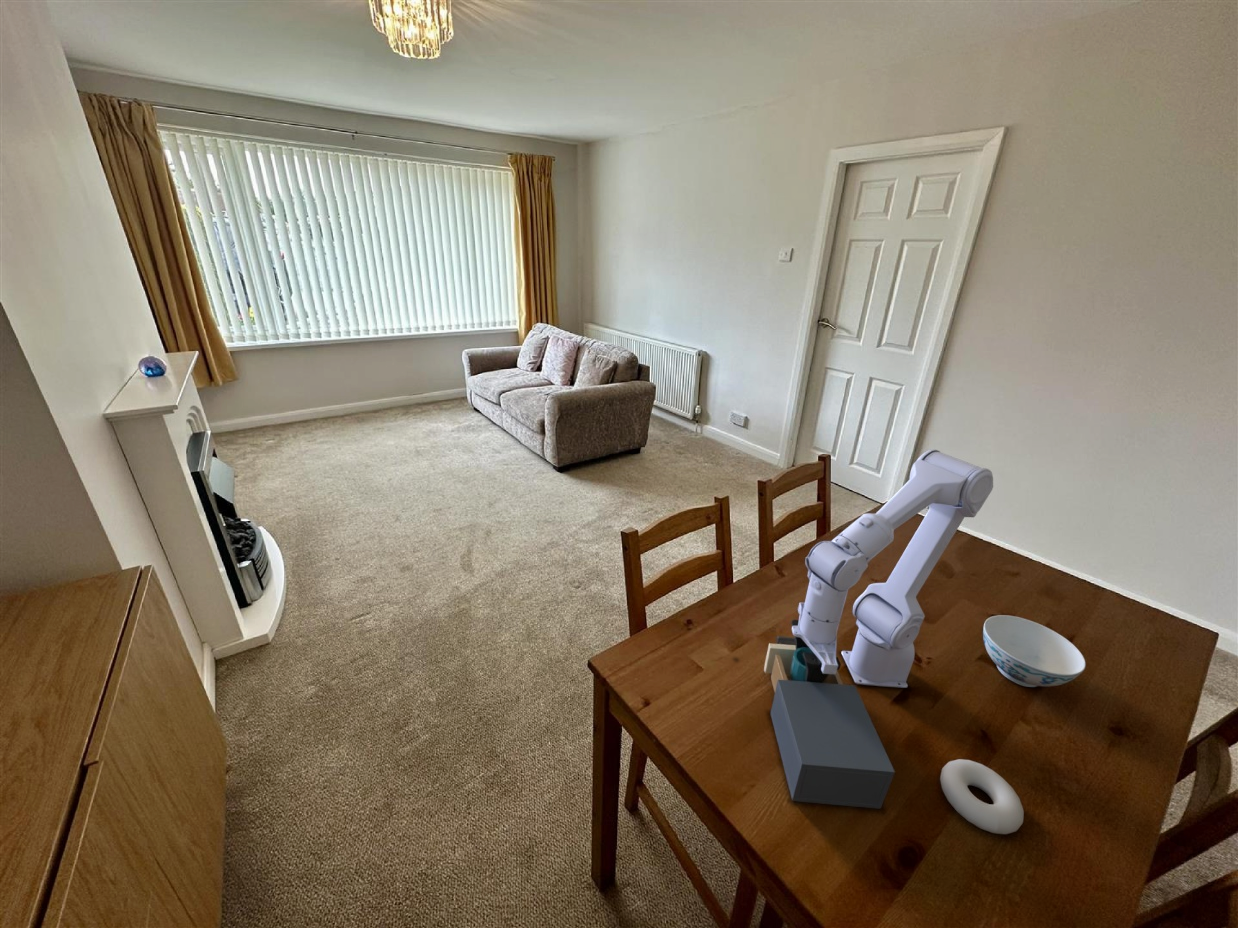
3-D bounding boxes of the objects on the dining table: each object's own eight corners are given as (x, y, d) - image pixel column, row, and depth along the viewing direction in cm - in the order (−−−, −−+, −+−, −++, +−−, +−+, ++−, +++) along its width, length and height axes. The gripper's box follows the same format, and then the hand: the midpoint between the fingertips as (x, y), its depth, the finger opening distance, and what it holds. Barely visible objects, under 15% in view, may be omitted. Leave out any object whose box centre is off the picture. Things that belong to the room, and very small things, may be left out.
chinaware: (1090, 704, 87) (1109, 673, 84) (1013, 707, 86) (1029, 676, 83) (1021, 643, 100) (1035, 614, 97) (953, 645, 99) (965, 615, 96)
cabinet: (770, 713, 83) (777, 679, 80) (844, 719, 83) (855, 685, 79) (792, 800, 70) (802, 764, 67) (880, 808, 69) (895, 772, 66)
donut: (981, 766, 76) (922, 770, 75) (989, 752, 74) (928, 755, 73) (1037, 837, 66) (970, 842, 66) (1047, 822, 65) (979, 826, 64)
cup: (815, 667, 87) (820, 648, 85) (825, 691, 82) (830, 671, 80) (786, 664, 87) (790, 646, 85) (793, 689, 82) (798, 669, 81)
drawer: (759, 651, 95) (764, 627, 93) (818, 656, 94) (824, 631, 92) (780, 733, 79) (787, 705, 76) (851, 738, 78) (860, 711, 76)
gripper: (786, 581, 86) (774, 639, 91) (810, 641, 72) (794, 705, 78) (827, 583, 85) (812, 642, 91) (858, 644, 72) (839, 708, 77)
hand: (807, 671), depth 84 cm, fingers closed on cup, 5 cm apart
